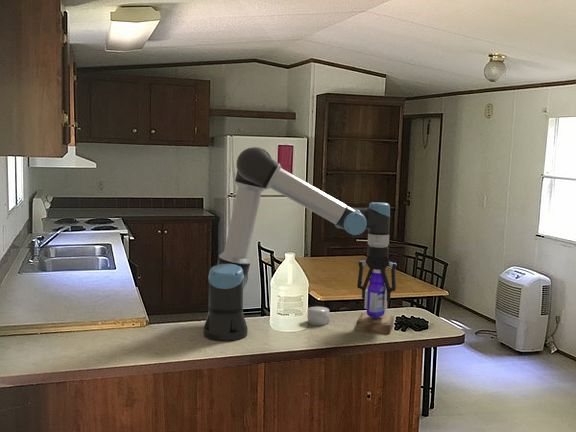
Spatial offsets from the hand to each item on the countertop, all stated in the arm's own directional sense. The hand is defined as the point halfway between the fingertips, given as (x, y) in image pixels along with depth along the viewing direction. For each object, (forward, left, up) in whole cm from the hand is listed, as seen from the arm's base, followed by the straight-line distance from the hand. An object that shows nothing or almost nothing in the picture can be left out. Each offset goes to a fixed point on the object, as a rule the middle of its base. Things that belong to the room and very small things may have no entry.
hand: (375, 308), depth 218 cm
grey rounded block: (-21, -1, -7) cm, 22 cm away
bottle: (0, 0, -3) cm, 3 cm away
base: (0, 0, -7) cm, 7 cm away
